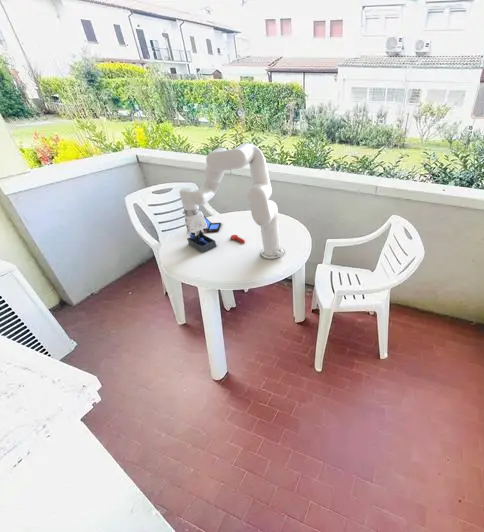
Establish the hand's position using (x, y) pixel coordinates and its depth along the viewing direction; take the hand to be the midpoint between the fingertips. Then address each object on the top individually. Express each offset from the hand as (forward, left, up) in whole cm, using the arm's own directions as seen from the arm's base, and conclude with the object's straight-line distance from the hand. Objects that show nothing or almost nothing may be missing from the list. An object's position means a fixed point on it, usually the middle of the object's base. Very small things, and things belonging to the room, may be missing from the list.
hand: (200, 240), depth 165 cm
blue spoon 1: (+3, 0, 0) cm, 3 cm away
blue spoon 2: (+3, -3, -5) cm, 6 cm away
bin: (+3, -2, -5) cm, 6 cm away
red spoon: (-9, -19, -5) cm, 22 cm away
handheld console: (+18, -18, -6) cm, 26 cm away
